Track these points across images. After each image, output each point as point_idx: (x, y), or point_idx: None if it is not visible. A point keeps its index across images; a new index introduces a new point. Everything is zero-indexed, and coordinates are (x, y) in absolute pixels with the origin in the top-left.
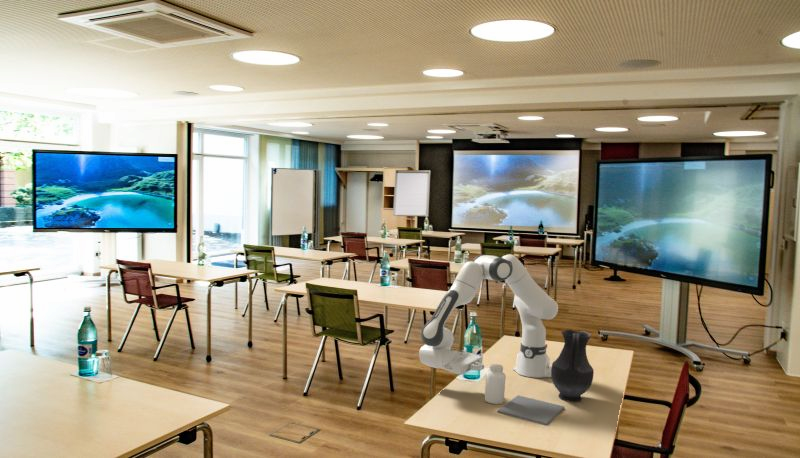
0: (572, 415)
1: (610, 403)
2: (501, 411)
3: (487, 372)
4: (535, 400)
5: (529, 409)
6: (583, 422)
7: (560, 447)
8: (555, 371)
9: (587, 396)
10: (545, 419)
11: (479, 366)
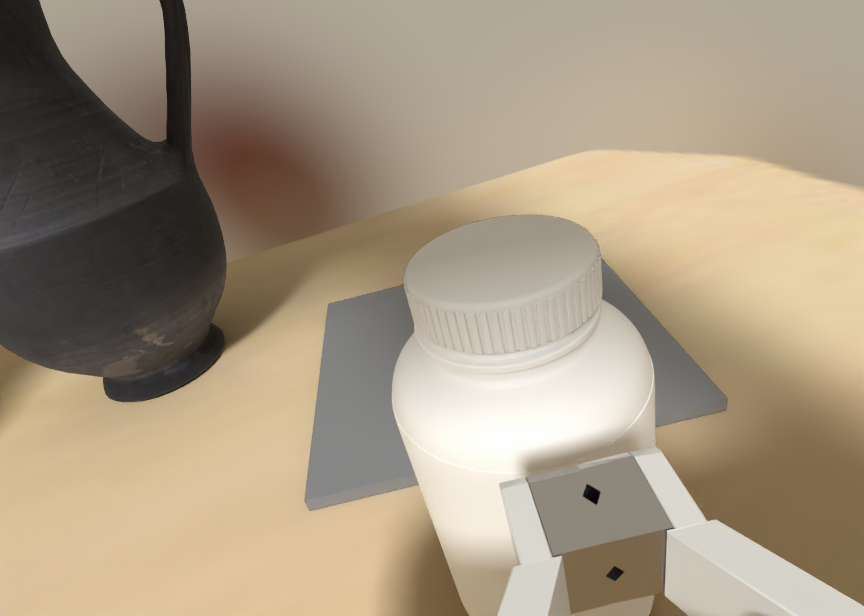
0: (392, 269)
1: None
2: (707, 376)
3: (598, 407)
4: (334, 391)
5: None
6: (433, 234)
7: (704, 166)
8: (154, 230)
9: None
10: None
11: (676, 482)
